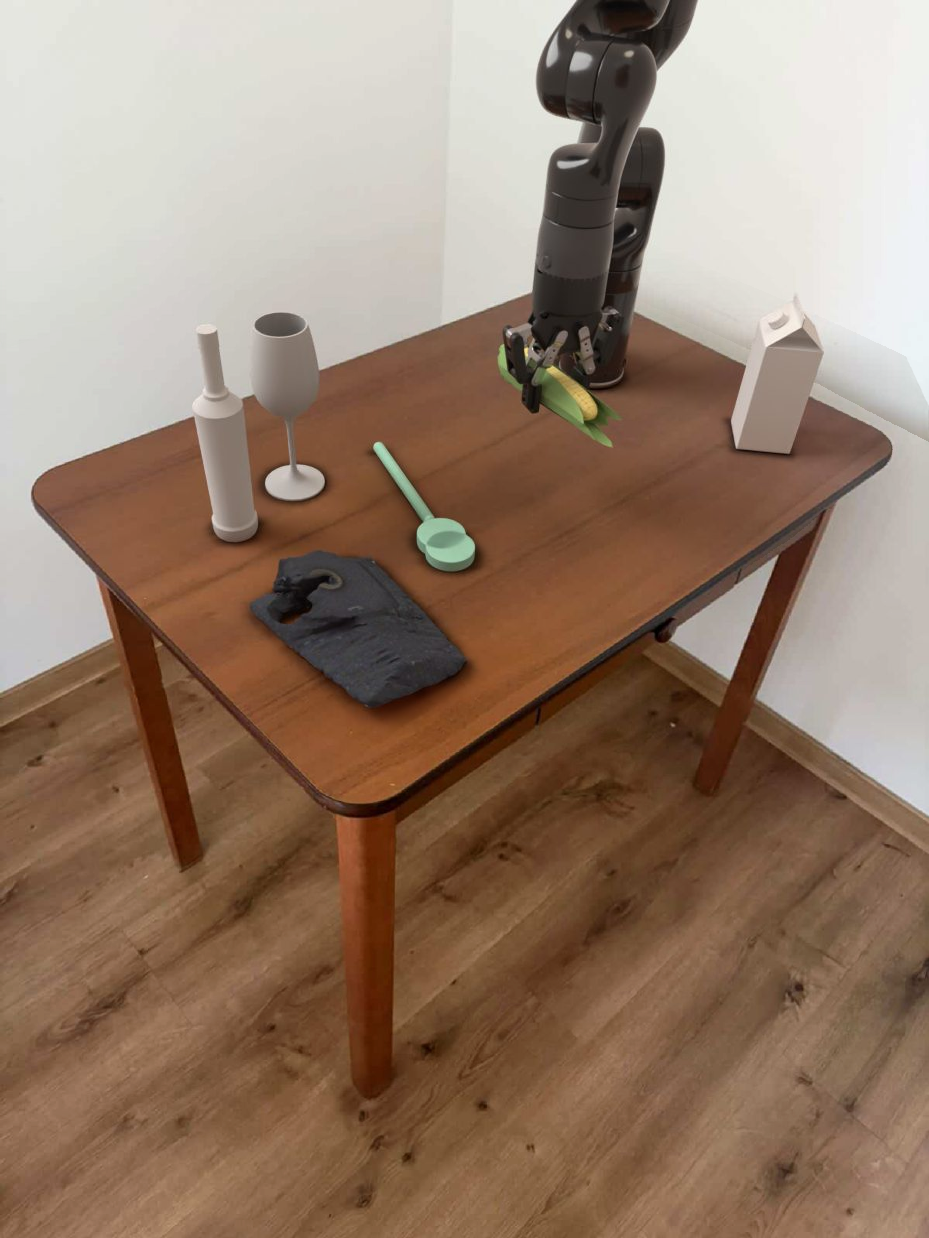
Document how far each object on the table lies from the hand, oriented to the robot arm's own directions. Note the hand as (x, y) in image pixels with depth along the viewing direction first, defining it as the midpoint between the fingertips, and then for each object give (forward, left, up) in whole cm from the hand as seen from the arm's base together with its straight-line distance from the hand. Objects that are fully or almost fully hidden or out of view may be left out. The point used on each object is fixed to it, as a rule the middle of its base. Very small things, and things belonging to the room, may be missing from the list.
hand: (554, 404), depth 109 cm
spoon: (-4, -15, -13) cm, 21 cm away
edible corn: (0, 0, -1) cm, 1 cm away
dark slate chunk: (+14, -29, -13) cm, 35 cm away
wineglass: (-14, -27, -13) cm, 33 cm away
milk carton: (-1, +34, -13) cm, 37 cm away
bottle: (-8, -36, -13) cm, 39 cm away
